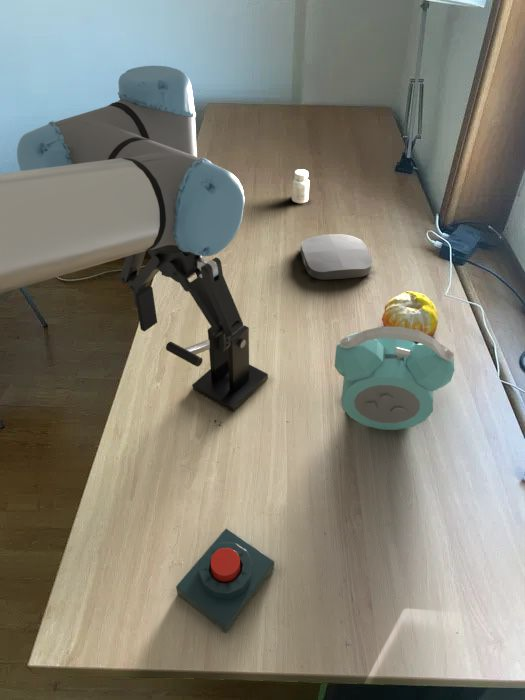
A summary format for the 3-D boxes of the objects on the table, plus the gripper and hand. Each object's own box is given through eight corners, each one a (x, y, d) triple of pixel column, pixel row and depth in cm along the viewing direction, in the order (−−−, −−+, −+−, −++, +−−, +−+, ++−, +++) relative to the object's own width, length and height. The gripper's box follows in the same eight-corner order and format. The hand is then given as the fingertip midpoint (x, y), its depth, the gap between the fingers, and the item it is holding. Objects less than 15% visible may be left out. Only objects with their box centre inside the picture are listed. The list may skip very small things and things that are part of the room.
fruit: (375, 307, 115) (393, 276, 109) (422, 321, 116) (441, 291, 111) (379, 342, 106) (399, 310, 101) (429, 357, 108) (451, 326, 103)
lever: (194, 370, 81) (197, 356, 80) (164, 354, 84) (166, 339, 83) (246, 348, 92) (249, 335, 91) (218, 334, 94) (220, 321, 93)
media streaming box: (375, 277, 123) (377, 265, 121) (309, 282, 122) (310, 271, 120) (357, 242, 134) (359, 231, 132) (297, 246, 132) (297, 235, 130)
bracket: (233, 412, 94) (230, 356, 85) (192, 389, 98) (186, 333, 89) (268, 378, 100) (269, 323, 91) (228, 358, 104) (225, 302, 95)
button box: (226, 633, 68) (225, 619, 65) (177, 594, 71) (174, 579, 69) (274, 569, 74) (275, 554, 71) (226, 536, 77) (225, 520, 75)
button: (227, 588, 68) (227, 581, 67) (205, 571, 70) (204, 564, 69) (245, 565, 70) (245, 558, 69) (223, 549, 72) (223, 542, 71)
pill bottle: (311, 200, 149) (313, 172, 144) (300, 205, 147) (301, 177, 142) (299, 194, 152) (301, 166, 146) (288, 199, 149) (289, 171, 144)
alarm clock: (432, 401, 96) (461, 309, 83) (435, 445, 89) (467, 352, 76) (330, 388, 98) (342, 296, 85) (325, 430, 91) (337, 337, 78)
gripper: (272, 230, 64) (268, 365, 78) (119, 172, 75) (140, 300, 89) (231, 258, 60) (234, 396, 74) (74, 192, 70) (104, 324, 84)
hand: (183, 344), depth 81 cm, fingers open, 13 cm apart
